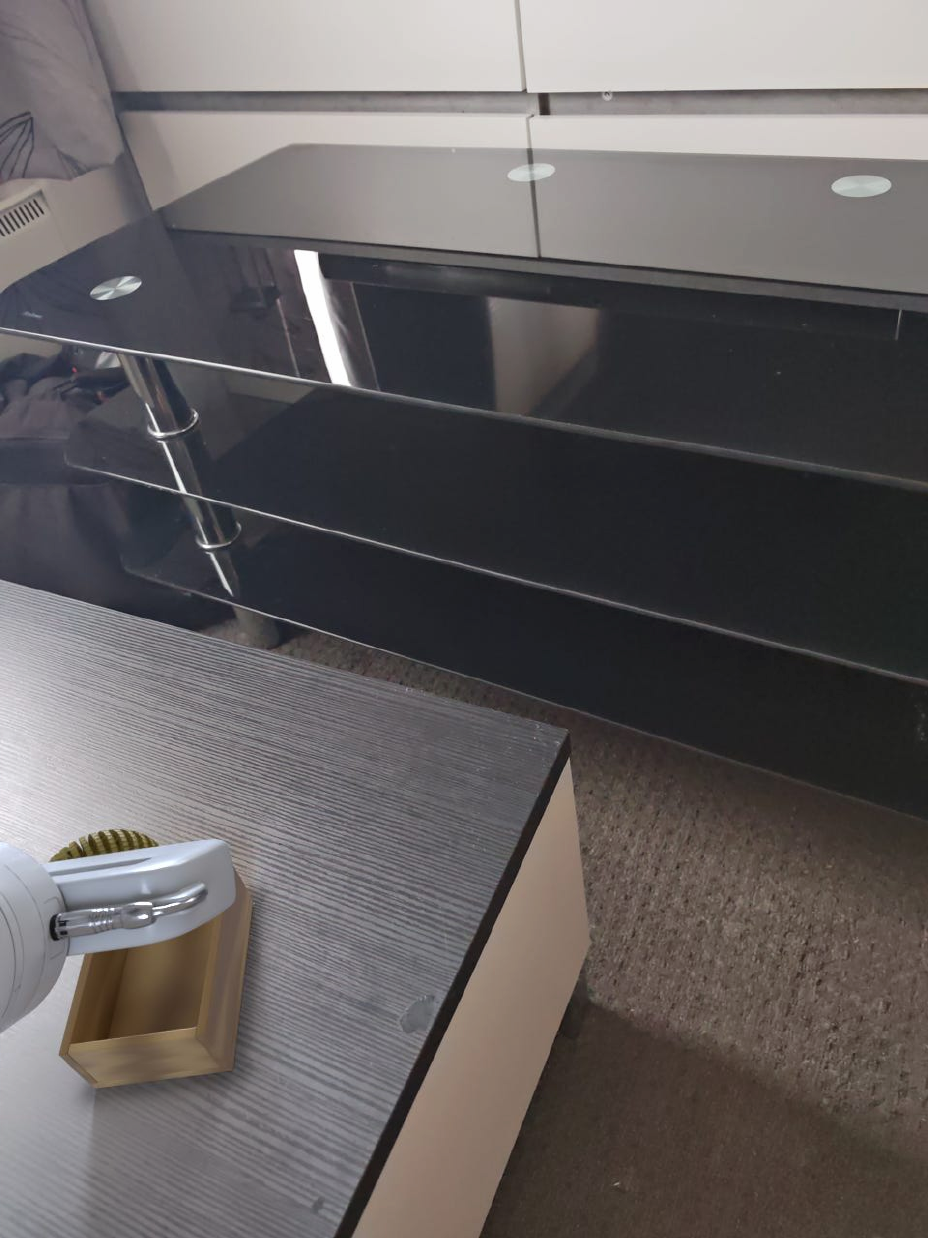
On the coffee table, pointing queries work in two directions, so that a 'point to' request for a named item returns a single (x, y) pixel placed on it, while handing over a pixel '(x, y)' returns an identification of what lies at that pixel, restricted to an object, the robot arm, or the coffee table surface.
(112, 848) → the sculpture
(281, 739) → the coffee table surface
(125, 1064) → the wooden box
